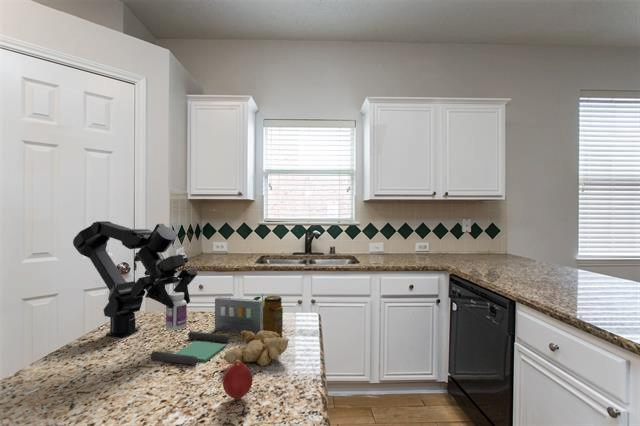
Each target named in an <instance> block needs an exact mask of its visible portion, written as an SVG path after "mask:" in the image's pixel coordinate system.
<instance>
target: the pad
mask: <svg viewBox="0 0 640 426" xmlns="http://www.w3.org/2000/svg"><path fill="white" fill-rule="evenodd" d="M225 348H227V344H226V343H224V344H223V343H215V342H208V341H197V340H195V341H193V342H192V343H190V344H188V345H187V346H185V347H183V348H182V349H180V350H178V351H177V352H175V353H174V354H181V355H189V356H196V357H197V358H198V362H204V363H206V362H208V361H209V360H210V359H212V358H213V357H215V356H216V355H217V354H218V353H220V352H221V351H223V350H224V349H225Z"/></svg>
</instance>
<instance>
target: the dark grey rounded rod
mask: <svg viewBox="0 0 640 426" xmlns="http://www.w3.org/2000/svg"><path fill="white" fill-rule="evenodd" d="M149 357H150V360H154V361H161V362H168V363H175V364H183V365H190V366H195V365H197V364H198V363H199V361H198V358H197V357H196V356H189V355H181V354H175V353H173V352H164V351H156V350H154V351H152V352H151V354H150V356H149Z"/></svg>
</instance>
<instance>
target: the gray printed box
mask: <svg viewBox="0 0 640 426" xmlns="http://www.w3.org/2000/svg"><path fill="white" fill-rule="evenodd" d="M263 300H264V299H263ZM263 300H262V299H259V300H253V299H250V298H249V299H248V298H236V297H235V298H234V297H220V296H218V297H216V298H214V330H218V331H228V332H237V333H241V332H242V331H244V330H245V331H248V332H252V333H254V334H255V335H257V333H258V332H260V331H263Z"/></svg>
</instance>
